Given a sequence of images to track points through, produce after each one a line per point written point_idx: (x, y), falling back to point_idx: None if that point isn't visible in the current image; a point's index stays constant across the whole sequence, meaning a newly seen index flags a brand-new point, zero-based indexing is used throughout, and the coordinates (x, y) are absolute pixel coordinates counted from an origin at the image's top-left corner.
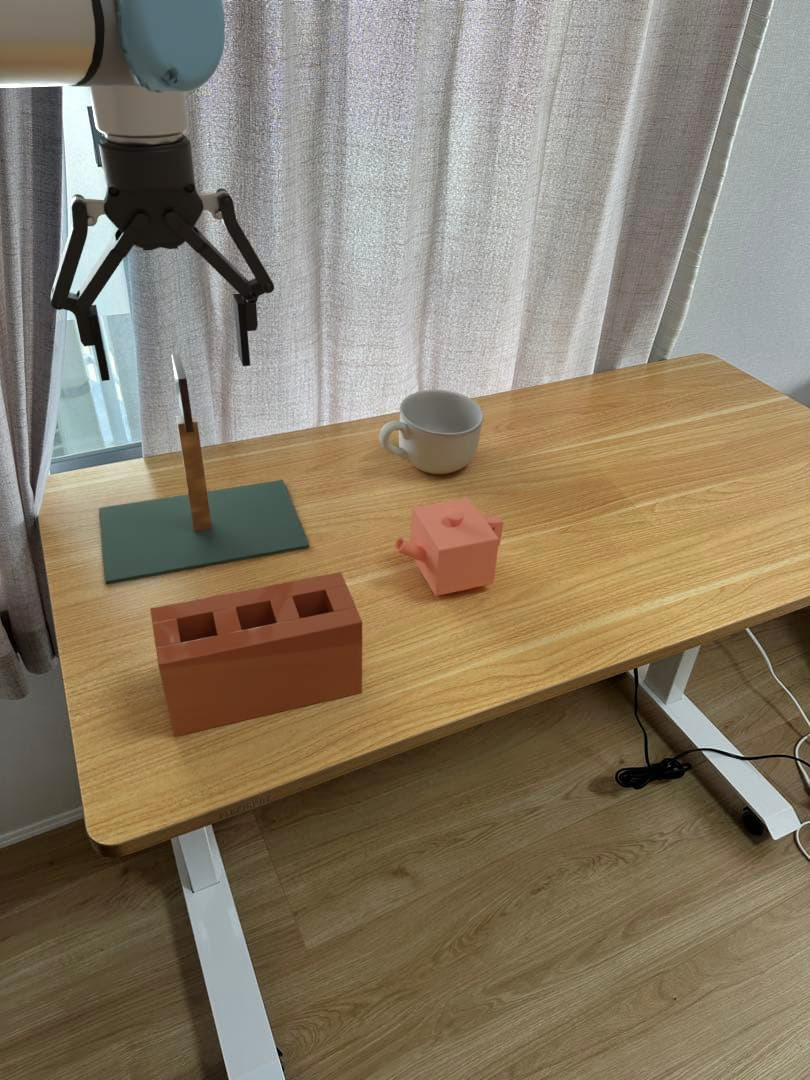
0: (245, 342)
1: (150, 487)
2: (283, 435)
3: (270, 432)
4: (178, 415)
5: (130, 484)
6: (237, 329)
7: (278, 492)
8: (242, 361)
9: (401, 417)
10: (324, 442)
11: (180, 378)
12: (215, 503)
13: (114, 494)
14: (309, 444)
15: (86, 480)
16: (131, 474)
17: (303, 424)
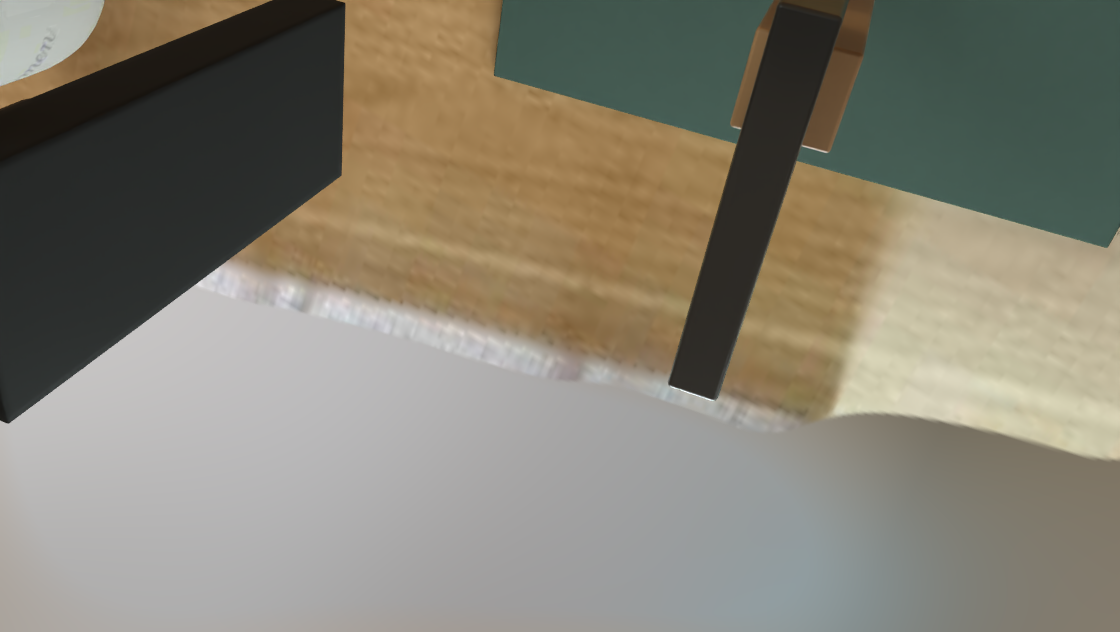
0: (203, 43)
1: (886, 273)
2: (415, 300)
3: (444, 333)
4: (815, 148)
5: (935, 322)
6: (204, 197)
7: (531, 10)
8: (325, 14)
9: (2, 4)
10: (318, 204)
11: (820, 26)
12: (744, 60)
13: (1010, 300)
14: (360, 218)
15: (1047, 415)
16: (905, 367)
17: (347, 317)
